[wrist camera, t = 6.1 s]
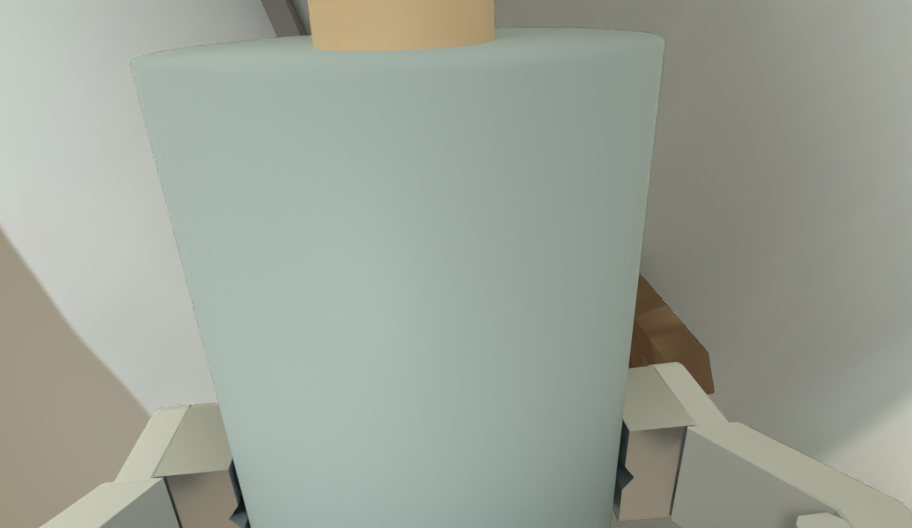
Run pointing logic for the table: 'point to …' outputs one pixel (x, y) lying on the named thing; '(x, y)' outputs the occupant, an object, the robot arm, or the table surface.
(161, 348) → the table surface
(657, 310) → the roll holder
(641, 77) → the paper roll
